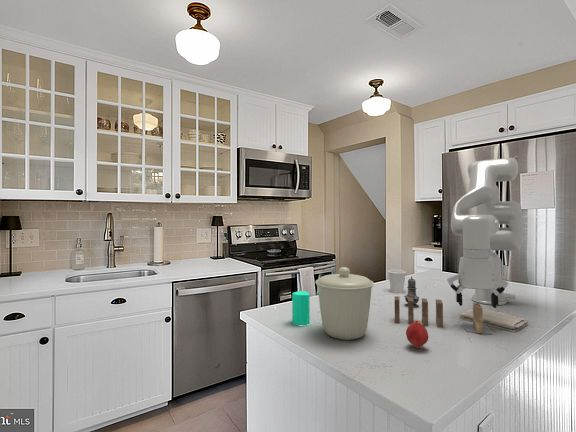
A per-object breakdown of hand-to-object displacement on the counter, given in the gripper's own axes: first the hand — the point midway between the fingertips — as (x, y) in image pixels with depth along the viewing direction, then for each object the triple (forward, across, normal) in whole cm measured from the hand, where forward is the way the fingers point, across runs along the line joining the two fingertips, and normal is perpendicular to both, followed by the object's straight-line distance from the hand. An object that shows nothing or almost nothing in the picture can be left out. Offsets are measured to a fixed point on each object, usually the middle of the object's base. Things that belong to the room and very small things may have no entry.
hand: (476, 305), depth 103 cm
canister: (+6, +40, +19) cm, 45 cm away
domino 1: (+7, +25, +1) cm, 26 cm away
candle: (+6, +56, +14) cm, 58 cm away
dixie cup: (+9, +25, -43) cm, 51 cm away
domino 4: (+7, +11, +1) cm, 14 cm away
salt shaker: (+8, +19, -20) cm, 29 cm away
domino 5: (+7, 0, +4) cm, 8 cm away
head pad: (+7, 0, +1) cm, 7 cm away
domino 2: (+7, +20, +1) cm, 22 cm away
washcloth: (+8, -6, -8) cm, 13 cm away
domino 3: (+7, +16, +1) cm, 17 cm away
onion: (+6, +19, +23) cm, 31 cm away
